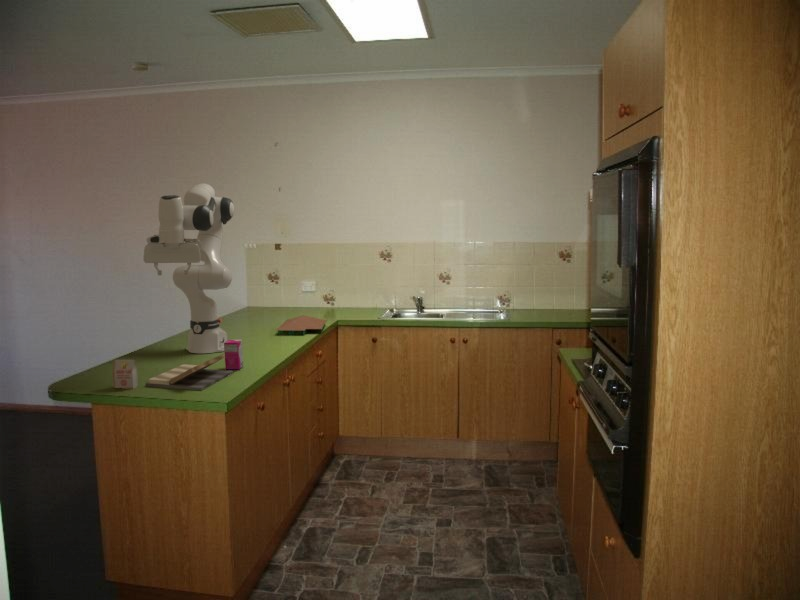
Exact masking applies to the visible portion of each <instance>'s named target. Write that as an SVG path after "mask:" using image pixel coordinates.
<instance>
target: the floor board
mask: <svg viewBox="0 0 800 600" xmlns="http://www.w3.org/2000/svg"><path fill="white" fill-rule="evenodd" d="M197 365H198V364H186V363H183V364H181V365H179V366H176V367H174V368H172V369H169V370H167V371H165V372H162V373H160V374H158V375H156V376H153V377H151V378H148V382H146V383H145V387H148V388H149V387H150V388H151V387H152V388H160V389H161V388H163V389H175V390H179V389H180V390H186V391H187V390H190V391H200V392H201V391H203V390H205V389H207V388H209V387H211V386H213V385H215V384H217V383H218V382H221V381H222V380H224V379H226V378H228V377H229V376H228V375H230V374H231V375H233V374H234V370H226V369H225V370H223V369H211V368H205V369H203V370H201V371H198V372H196V373H194V374H192V375H190V376H188V377H186V378H184V379H182V380H179V381H177V382H175V383H173V384H171V382H170V380H171V379H173V378H175V377H177V376H178V375H180V374H182V373H184V372H186V371H187V370H189V369H191V368H193V367H195V366H197ZM232 373H233V374H232ZM231 375H230V376H231ZM227 376H228V377H227ZM225 377H226V378H225ZM223 378H224V379H223ZM216 382H217V383H216Z"/></svg>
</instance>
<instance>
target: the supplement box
mask: <svg viewBox="0 0 800 600" xmlns="http://www.w3.org/2000/svg"><path fill="white" fill-rule="evenodd" d="M223 352H224V365H225V366H224V367H225V370H227V371H234V370H239V371H241V370H242V369H243V368H244V367H243V366H244V353H243V339H228V341H226V342H225V343H224V351H223ZM242 367H243V368H242ZM241 368H242V369H241ZM240 369H241V370H240Z"/></svg>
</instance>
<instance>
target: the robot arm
mask: <svg viewBox="0 0 800 600" xmlns="http://www.w3.org/2000/svg"><path fill="white" fill-rule="evenodd" d="M234 214H235V205H234V202H233V201H232V199H231V198H228V197H224V196H223V197H221V196H216V191H215V189H214V187H212V185H210V184H208V183H204V182H202V183H198V184H196V185H193V186H192V187H190V188H189V189H188V190H187V191H186V192H185V194H184V196H183V201H182V197H181V196H180V195H175V194H169V195H163V196H161V197H159V202H158V215H157V217H158V221H159V228H158V233H157V234H154V235H151V236H149V237H146V243H147V244H146V245H145V246H144V249H143V262H144V263H145V264H153V267H154V268H155V270H156V272H157V276H162V275H163V272H162V270H160V269H159V268H158V266H159V264H186V265H180V266H177V267H176V268H174V271H173V273H172V281H173V283H174V285H175V286H176V287H177V288H178V289H179V290H181V291H182V292H183V293H184V295H185V296H186V298H187V299H188V304H189V308H190V309H189V310H190V323H189V325H190V326H189V327H190V331H188V337H187V338H188V339H187V340H188V343H187V346H186V347H185V350H187V351H188V352H189V353H190V354H191V353H192V354H212V353H222V352H225V351H224V343H225V342H226V341H228V340H229V339H228V338H229V337H228V333H227V332H226V331H225V330H224V329H222V327H220V324H222V322H223V321H222V318H218V316H217V313H218V312H217V311H218V309H217V303H216V301H215V300H214V299H213V298H211V297H210V296H207V295H206V294H205V292H204V290H213V291H214V290H215V291H216V290H224V289H227V288H229V286H230V285H231V283H232V280H233V275H232V272H231V270H230V269H229V268H228V267H227V266H226V265H225V264H224V263H223V261H222V260H221V259H222V258H221V251H222V244H223V237H224V235H223V233H224V231H223V230H224V229H223V225H226V224H227V223H228V222H229V221H231V220H232V218H233V216H234ZM185 231H198V234H197V237H196V238H185ZM200 262H203V263H204V264H198V263H200ZM194 263H195V264H194ZM196 263H197V264H196Z"/></svg>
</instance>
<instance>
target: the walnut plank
mask: <svg viewBox="0 0 800 600" xmlns="http://www.w3.org/2000/svg"><path fill="white" fill-rule="evenodd" d="M223 359H225V355H224V354H223V353H222V354H219V355H217V356H216V357H214V358H210V359H209V360H206V361H205V362H202V363H200V364H196V365H197V366H195V367H193V368H191V369H189V370H187V371H186V372H184V373H182V374H180V375H178V376H177V377H175V378H173V379H171V380H170V382H171V384H173V383H175V382H177V381H179V380H182V379H184V378H186V377H188V376H190V375H192V374H194V373H196V372H198V371H201V370H203V369H208V367H210V366H212V365H214V364H216V363H217V362H219V361H221V360H223Z"/></svg>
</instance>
